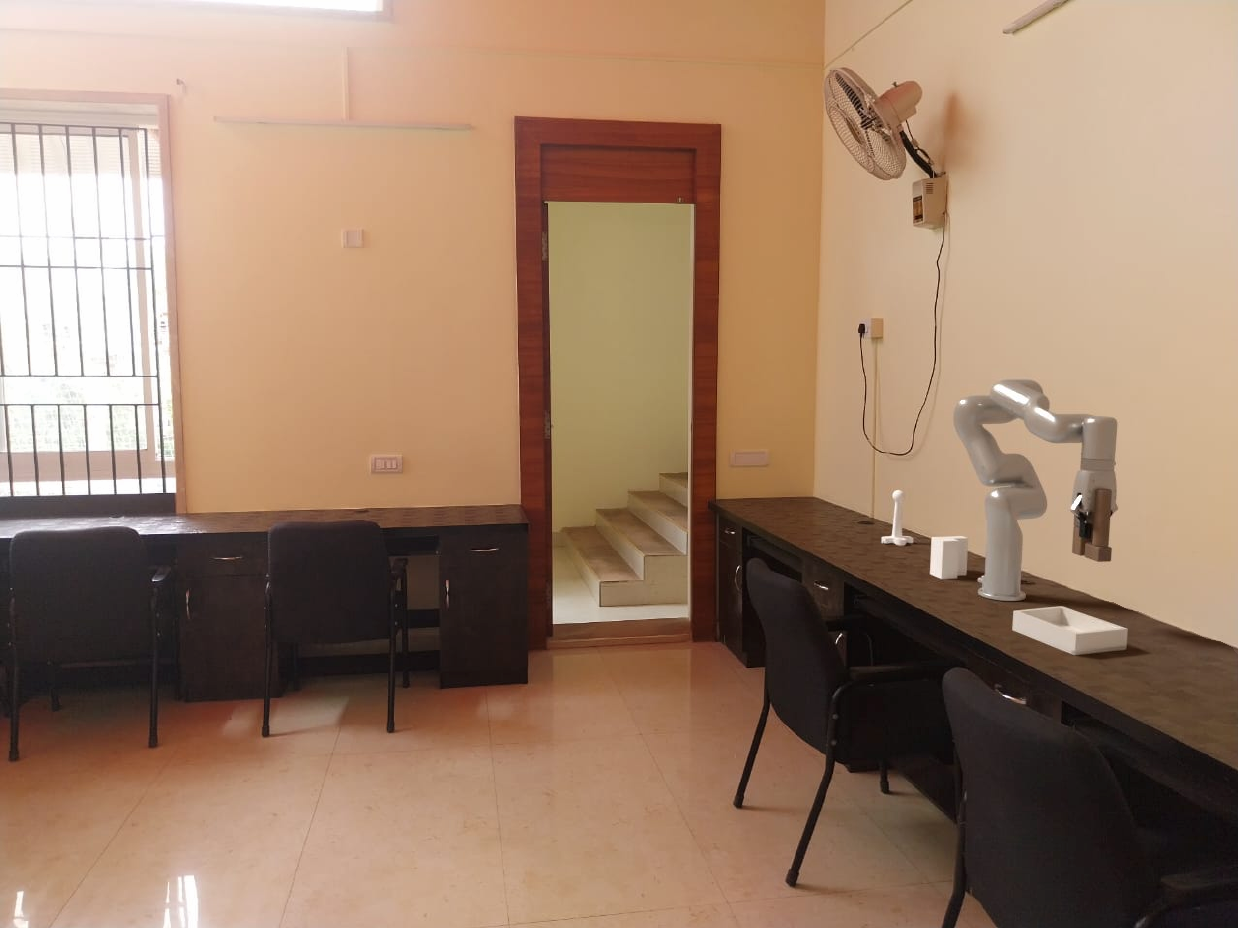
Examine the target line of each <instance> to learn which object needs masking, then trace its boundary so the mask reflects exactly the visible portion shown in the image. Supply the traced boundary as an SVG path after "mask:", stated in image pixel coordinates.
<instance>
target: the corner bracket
mask: <svg viewBox="0 0 1238 928" xmlns="http://www.w3.org/2000/svg"><path fill="white" fill-rule="evenodd" d="M968 545H969V537H966V536H963V535H955V536H953V535H952V536H950V535H949V536H932V537H931V544H930V566H929V567H930V568H929V575H931V576H932V577H933V576H934V577H936V578H938V579H940V580H950V579H951V580H953V579H958V576H967V572H968V571H967V569H968V568H967V567H968V566H967V565H968V551H969V550H968V548H969V547H968Z"/></svg>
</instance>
